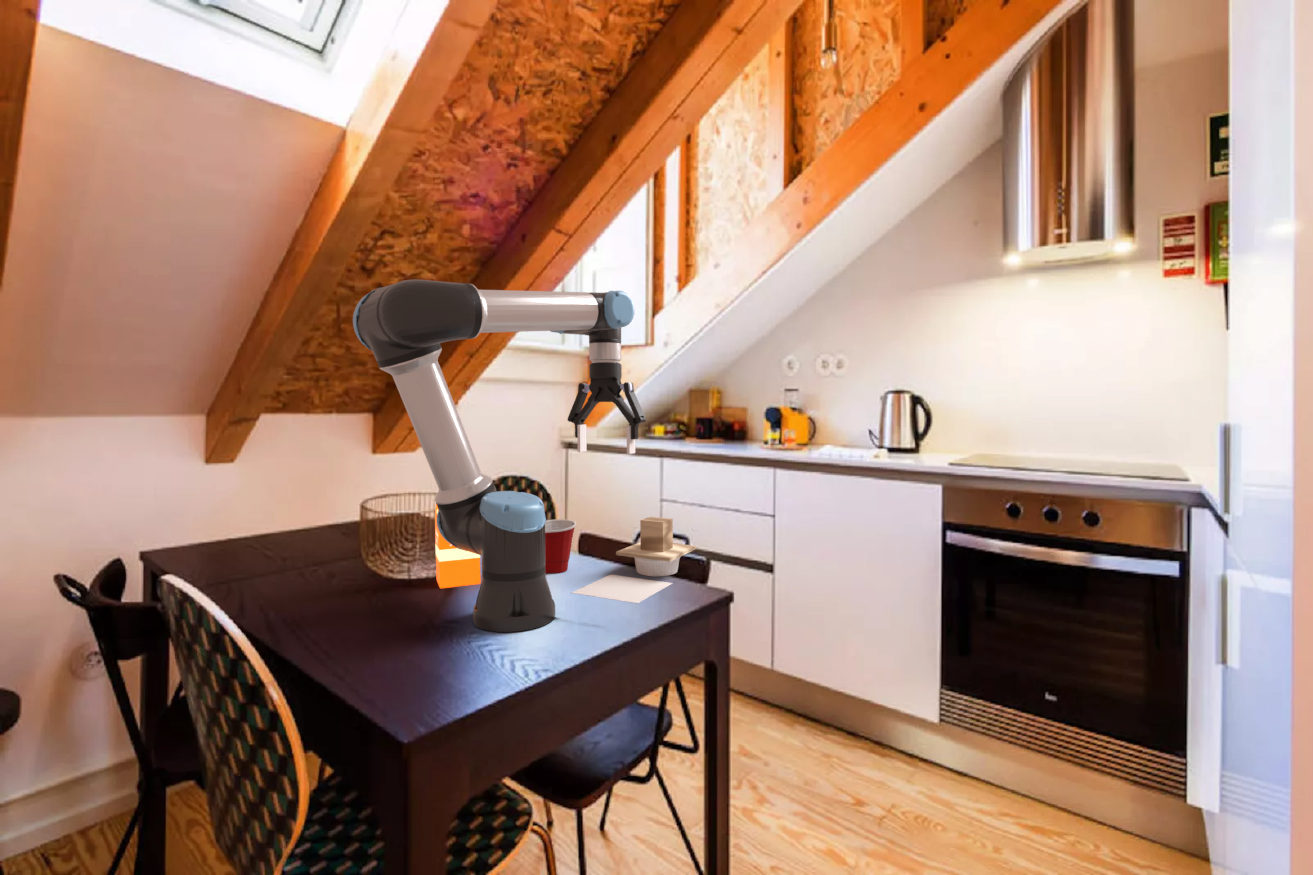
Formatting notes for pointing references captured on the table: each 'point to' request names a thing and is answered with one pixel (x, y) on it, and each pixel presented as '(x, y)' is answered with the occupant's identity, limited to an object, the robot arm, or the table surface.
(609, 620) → the table surface
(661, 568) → the ramekin
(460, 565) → the orange juice
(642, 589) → the white square panel
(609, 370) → the robot arm
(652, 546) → the birch lid
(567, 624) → the table surface
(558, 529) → the plastic cup
